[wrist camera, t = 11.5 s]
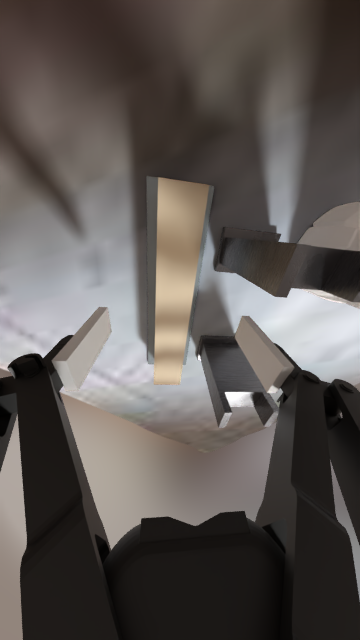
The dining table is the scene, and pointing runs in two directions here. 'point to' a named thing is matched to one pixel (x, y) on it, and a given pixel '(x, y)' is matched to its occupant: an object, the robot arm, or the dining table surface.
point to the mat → (152, 256)
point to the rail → (176, 271)
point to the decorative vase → (335, 237)
